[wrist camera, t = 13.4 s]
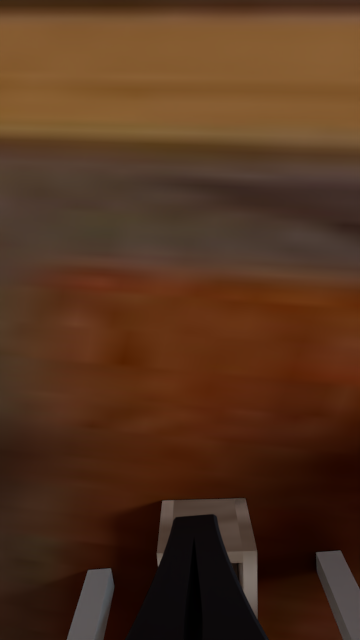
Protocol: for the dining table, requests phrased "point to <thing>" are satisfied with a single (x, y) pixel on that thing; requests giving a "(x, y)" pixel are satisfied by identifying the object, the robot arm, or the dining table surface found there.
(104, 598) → the small grey side table
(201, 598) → the robot arm
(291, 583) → the dining table surface
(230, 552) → the tray
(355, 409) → the dining table surface
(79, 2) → the dining table surface
